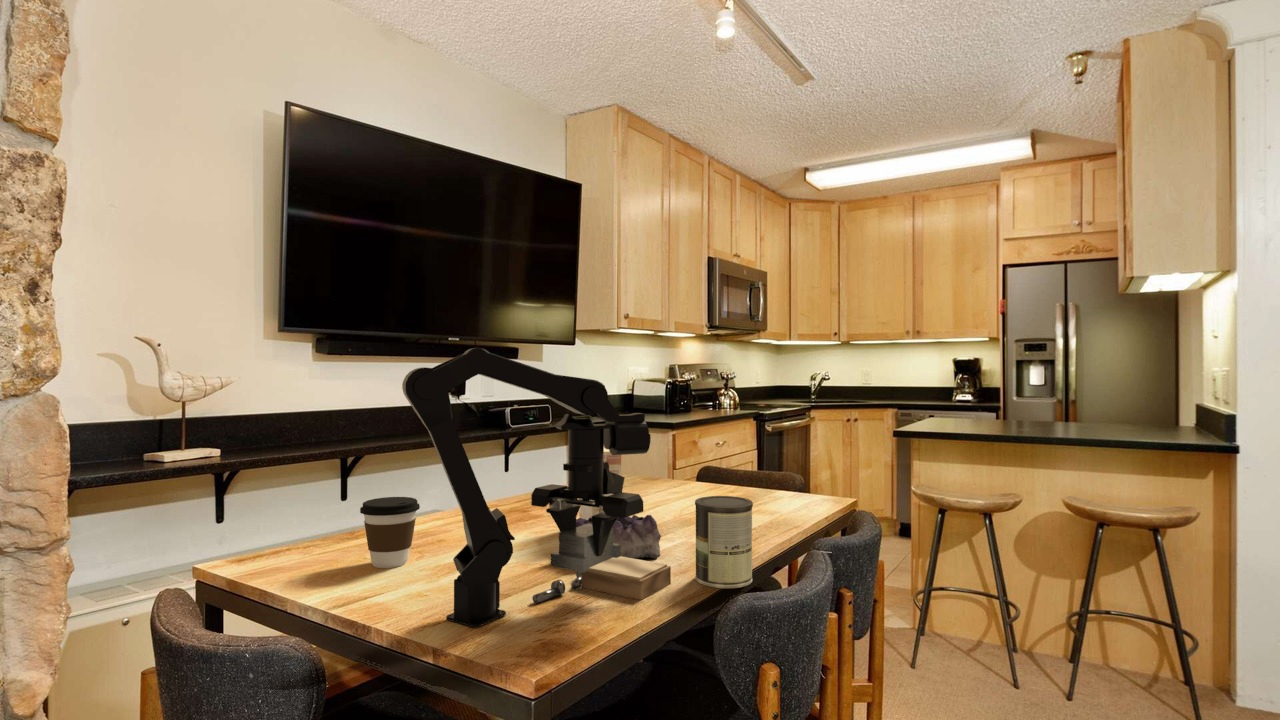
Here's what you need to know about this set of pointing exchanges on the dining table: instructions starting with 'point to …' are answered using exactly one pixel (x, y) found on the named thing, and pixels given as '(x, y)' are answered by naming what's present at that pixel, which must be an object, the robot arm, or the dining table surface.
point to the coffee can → (723, 541)
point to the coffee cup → (389, 529)
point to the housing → (582, 549)
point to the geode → (634, 536)
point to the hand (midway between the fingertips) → (585, 553)
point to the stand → (627, 577)
